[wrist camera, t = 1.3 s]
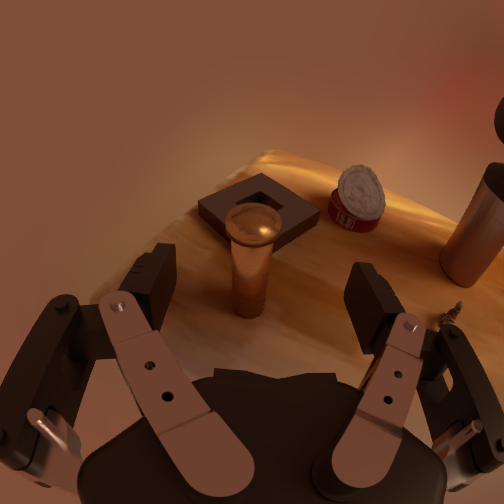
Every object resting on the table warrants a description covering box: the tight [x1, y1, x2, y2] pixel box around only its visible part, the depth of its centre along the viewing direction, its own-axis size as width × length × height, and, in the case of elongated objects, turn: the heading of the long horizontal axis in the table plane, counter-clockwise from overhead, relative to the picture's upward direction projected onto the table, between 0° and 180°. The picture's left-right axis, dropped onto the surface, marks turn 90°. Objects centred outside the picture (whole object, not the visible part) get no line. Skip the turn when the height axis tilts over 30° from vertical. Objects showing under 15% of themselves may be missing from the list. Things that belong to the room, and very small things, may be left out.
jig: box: [198, 173, 321, 253], centre depth 45 cm, size 14×14×3 cm
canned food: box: [328, 165, 386, 233], centre depth 47 cm, size 11×10×10 cm
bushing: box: [225, 203, 282, 319], centre depth 30 cm, size 5×5×14 cm
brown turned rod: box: [441, 301, 463, 326], centre depth 32 cm, size 2×8×4 cm, turn 136°
